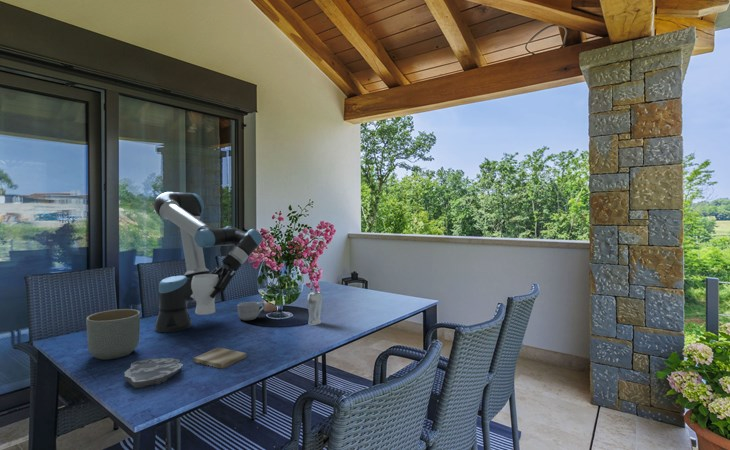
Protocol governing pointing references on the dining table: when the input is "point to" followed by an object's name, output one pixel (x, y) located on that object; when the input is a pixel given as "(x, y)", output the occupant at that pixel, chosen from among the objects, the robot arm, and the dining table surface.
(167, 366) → the brain slice
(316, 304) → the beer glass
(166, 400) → the dining table surface
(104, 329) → the planter
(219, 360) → the oak board
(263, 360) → the dining table surface
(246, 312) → the teacup
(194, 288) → the cup
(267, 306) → the tealight holder
